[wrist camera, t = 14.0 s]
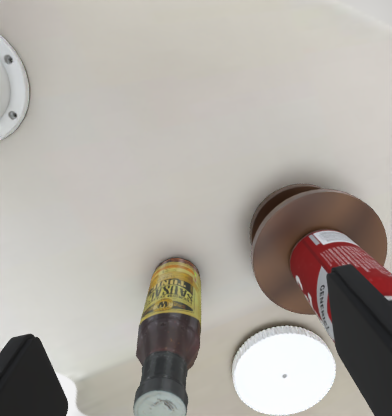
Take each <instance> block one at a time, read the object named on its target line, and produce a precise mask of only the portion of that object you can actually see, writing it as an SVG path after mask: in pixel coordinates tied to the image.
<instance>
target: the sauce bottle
mask: <svg viewBox="0 0 392 416" xmlns="http://www.w3.org/2000/svg"><path fill="white" fill-rule="evenodd" d="M200 334H201V280H200V275H199V272H198V270H197V268H196V267H195V266H194V265H193V264H192V263H191V262H190V261H187V260H185V259H181V258H171V259H168V260H166V261H165V262H163V263H161V264H160V265H159V266H158V267H157V268H156V271H155V272H154V274H153V276H152V279H151V283H150V287H149V291H148V295H147V298H146V302H145V306H144V310H143V314H142V317H141V321H140V325H139V332H138V341H137V351H136V356H137V358H138V359H139V361H140V363H141V364H142V366H143V367H142V378H141V382H140V386H139V387H138V389H137V391H136V395H135V401H134V407H133V409H134V415H135V416H186V413H187V404H188V396H187V393H186V377H187V371H188V370H189V369H190V368H191V367H192V366H193V364H194V362H195V360H196V358H197V355H198V351H199V348H200Z"/></svg>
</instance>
